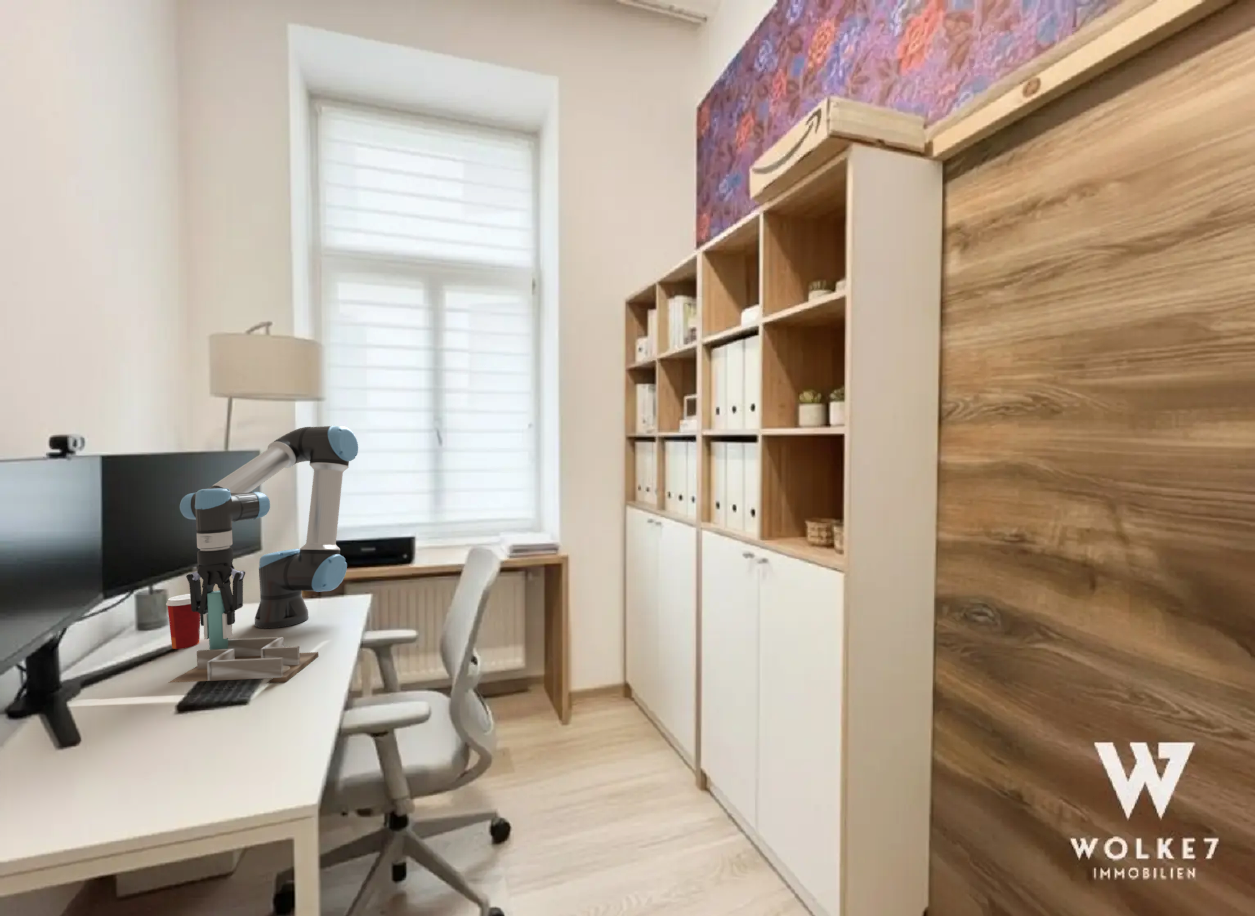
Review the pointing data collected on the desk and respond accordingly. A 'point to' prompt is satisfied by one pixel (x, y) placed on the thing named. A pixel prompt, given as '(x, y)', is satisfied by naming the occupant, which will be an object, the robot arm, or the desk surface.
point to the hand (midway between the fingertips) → (218, 637)
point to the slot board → (249, 661)
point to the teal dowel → (216, 621)
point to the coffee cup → (183, 622)
